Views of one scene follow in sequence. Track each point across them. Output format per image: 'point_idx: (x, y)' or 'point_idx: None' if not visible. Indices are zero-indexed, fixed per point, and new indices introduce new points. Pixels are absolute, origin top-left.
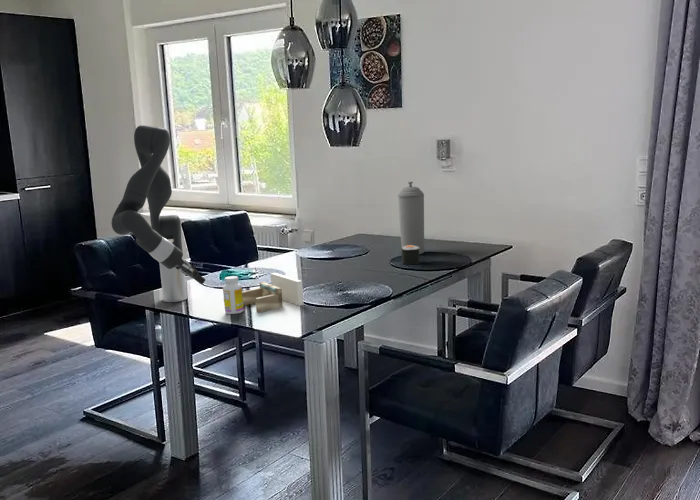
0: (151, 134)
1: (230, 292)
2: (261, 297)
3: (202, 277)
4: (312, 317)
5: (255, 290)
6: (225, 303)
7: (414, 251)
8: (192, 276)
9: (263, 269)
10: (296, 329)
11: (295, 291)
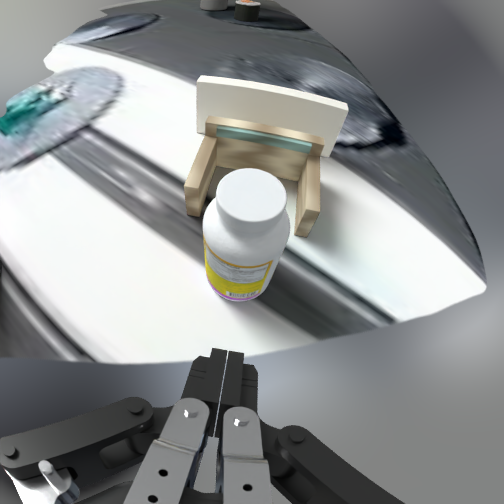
0: None
1: (275, 259)
2: (313, 195)
3: (242, 372)
4: (422, 205)
5: (211, 153)
6: (237, 289)
7: (258, 7)
8: (293, 486)
9: (54, 78)
10: (469, 276)
11: (327, 129)
